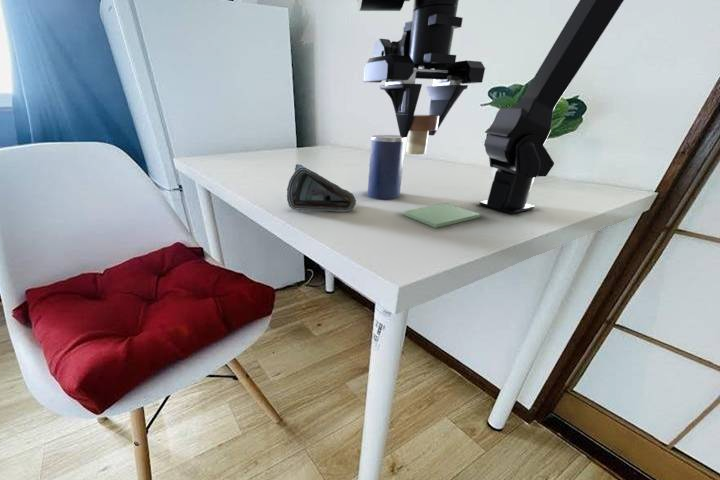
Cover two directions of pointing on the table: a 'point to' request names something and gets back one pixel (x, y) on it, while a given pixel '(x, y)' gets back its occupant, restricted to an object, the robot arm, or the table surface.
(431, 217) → the napkin
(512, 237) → the table surface
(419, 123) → the mushroom
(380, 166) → the can
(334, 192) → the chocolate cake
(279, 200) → the table surface
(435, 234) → the table surface
